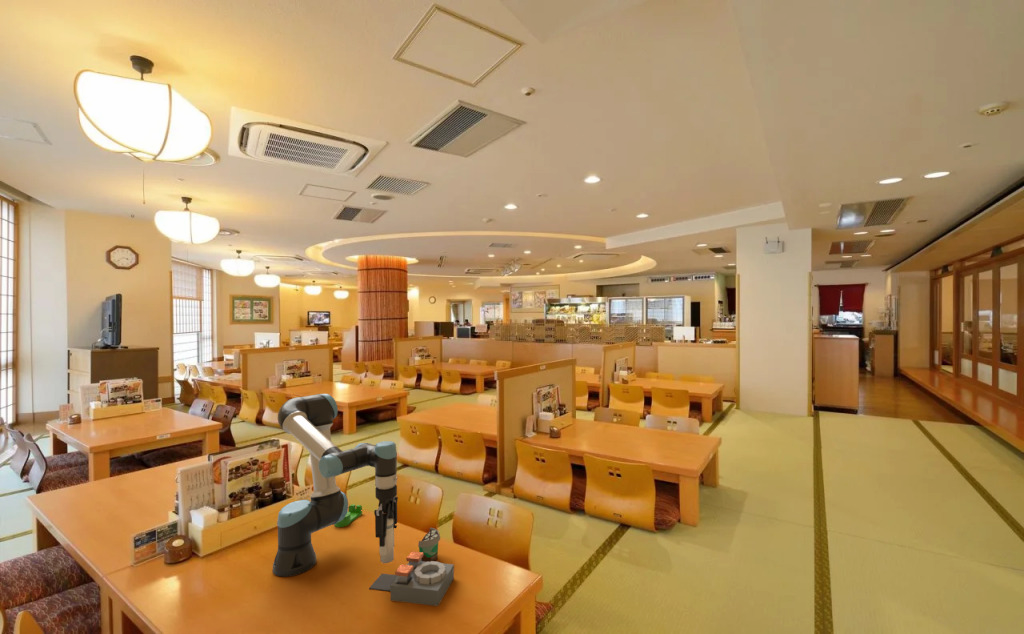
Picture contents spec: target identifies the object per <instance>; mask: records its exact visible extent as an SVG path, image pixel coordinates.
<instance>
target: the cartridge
mask: <svg viewBox="0 0 1024 634" xmlns="http://www.w3.org/2000/svg"><path fill="white" fill-rule="evenodd" d="M386 536H387V555H380V562H381V563H382V564H389V563H391V562H393V561H394V559H395V554H394V553H395V552H394V549H395V536H394V537H393V519H392V518H387V528H386Z"/></svg>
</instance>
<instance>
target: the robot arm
mask: <svg viewBox="0 0 1024 634" xmlns="http://www.w3.org/2000/svg"><path fill="white" fill-rule="evenodd" d="M338 412H339V409H338V403H337V401H336V399H335V398H334V397H333V396H332V395H331V394H329V393H317V394H313V395H306V396H298V397H293V398H290V399H288V400H287V401H284V403H283V404H281V406H280V408H279V410H278V412H277V422H278V423H277V424H278V425H279V427H280V429H282V431H283V432H285V433H286V434H288V435H289V434H290V435H291V436H292V437H293V438H295V439H296V440H297V441H298V442H299V443H300V444H301V445H302V446H303V447H304V448H305V449H306V450H307V451H308V452H309V455H310V465H311V474H312V475H311V476H312V485H313V491H312V493H311V494H310V496H309V497H310V500H308V499H300V500H296V501H292V502H290V503H288V504H286V505H285V506H283V507H281V509H280V511H279V512H278V515H277V521H276V525H277V550H276V554H275V556H274V560H273V563H272V573H273V574H274V575H275V576H277V577H283V578H284V577H294V576H297V575H301V574H303V573H305V572H308V571H309V570H311V569H312V568H313V567H314V566H315V565H316V563H317V554H316V551H315V550H314V547H313V544H312V534H313V533H316V532H318V531H320V530H323V529H326V528H328V527H330V526H334V524H336V523H337V522H339V521H341V520H343V519H344V518H345V516H346V514H347V511H348V512H349V499H348V497H347V495H346V493H345V492H343V491H341V487H339V486H338V485H337V483H336V482H337V481H336V477H337V476H341V475H342V474H345V473H349V472H351V471H356V470H358V469H361V468H365V467H373V468H374V470H375V471H374V472H375V473H374V476H375V477H374V478H375V485H374V486H375V488H374V489H375V499H377V500H378V505H377V506H378V508H377V509H374V511H373V512H374V517H375V518H374V521H375V523H374V524H375V526H374V527H375V528H374V529H375V530H374V531H375V538H378V541H379V542H378V543H379V547H378V548H379V555H380V556H381V555H387V536H386V528H387V518H392V519H393V537H394V538H395V529H397V527H398V525H397V523H398V499H399V497H398V486H397V482H398V481H397V480H398V474H397V473H398V472H397V470H398V469H397V467H398V466H397V462H398V460H397V456H398V453H397V444H396V443H395V441H393V440H392V441H391V440H389V441H388V440H386V441H385V440H384V441H379V442H377V443H376V444H372V443H368V442H359V443H358V444H357V445H355V447H353V448H350V449H346V450H342V449H340V448H339V446H337V445H336V444H334V442H333V441H332V435H331V427H332V426H333V425H334V419H336V417H337V416H338Z"/></svg>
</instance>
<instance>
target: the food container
mask: <svg viewBox="0 0 1024 634" xmlns="http://www.w3.org/2000/svg"><path fill="white" fill-rule="evenodd" d="M439 541H441V535H440V532H439V530H437V529H436V528H433V527H429V531H428V532H427V533H426V534H425V535H424V536H423V538H422V539H421V540H419V541H418V544H417V546H418V552H423V554H424V556H423V557H422V558H421V561H424V562H428V561H429V562H431V561H435V562H438V557H439V556H438V554H439Z"/></svg>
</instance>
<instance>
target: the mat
mask: <svg viewBox="0 0 1024 634" xmlns="http://www.w3.org/2000/svg"><path fill="white" fill-rule="evenodd" d="M397 577H398V576H397V575H395V574H389V573H388V574H387V573H381V574H380V575H379V576H378V577H376V579H375V581H374V582H373V583H372V584H371V585H370V586H369V588H368V589H369V590H376V591H383V592H391V586H390V585H391V584H392V583H393V582H394V580H395V579H396V578H397Z"/></svg>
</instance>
